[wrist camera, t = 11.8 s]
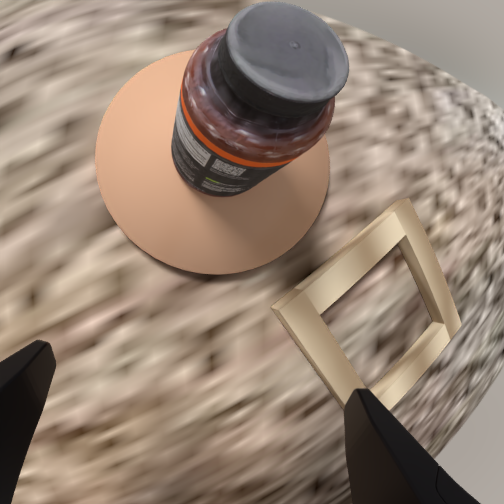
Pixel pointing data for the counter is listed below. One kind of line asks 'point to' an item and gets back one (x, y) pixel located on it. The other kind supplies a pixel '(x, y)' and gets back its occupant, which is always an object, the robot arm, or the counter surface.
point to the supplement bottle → (256, 97)
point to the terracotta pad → (188, 199)
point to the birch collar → (345, 276)
